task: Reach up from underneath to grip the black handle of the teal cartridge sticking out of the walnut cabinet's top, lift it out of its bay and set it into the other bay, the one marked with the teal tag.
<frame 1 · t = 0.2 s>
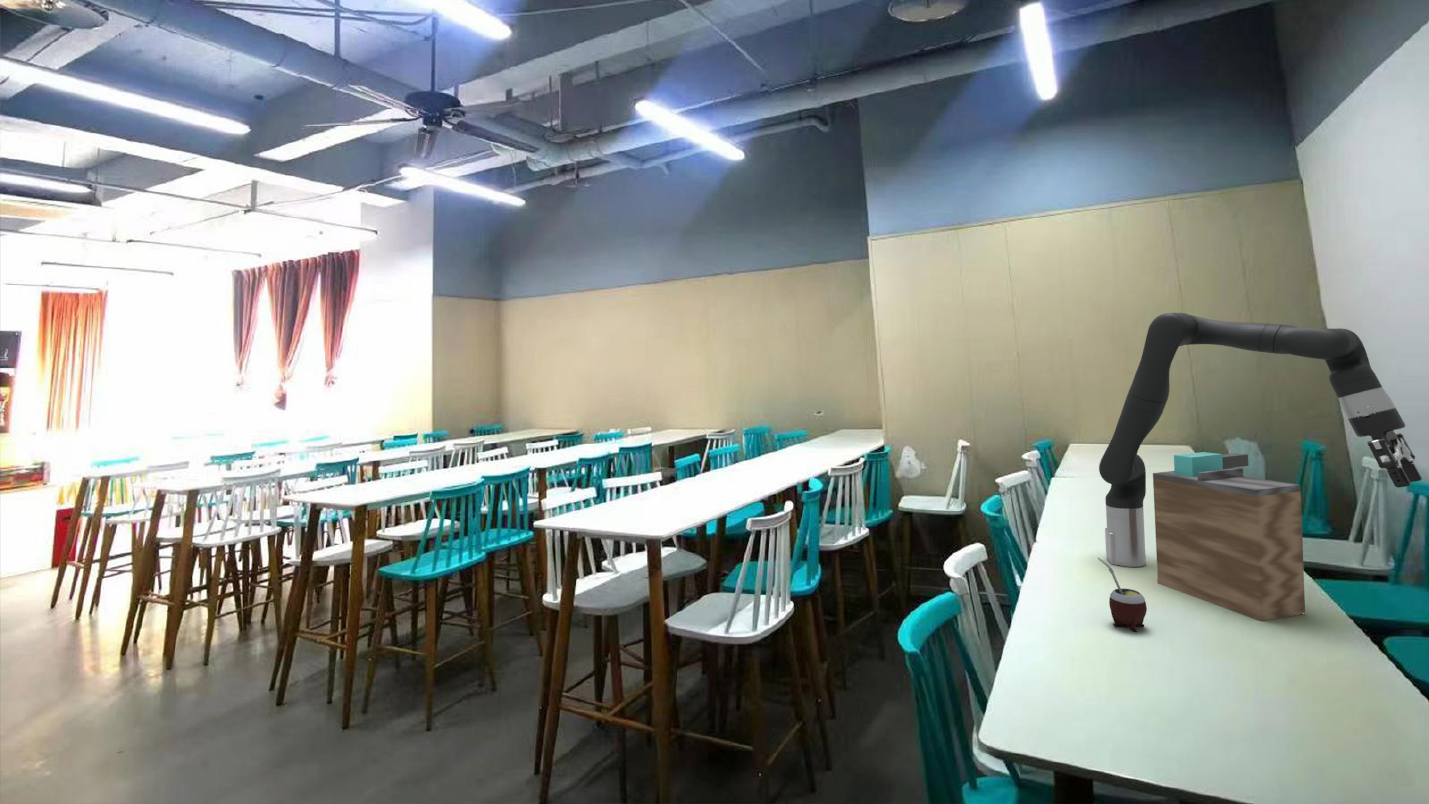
hand: (1409, 483, 125), 31 cm above the table, tool tilted 20°, fingers open, 8 cm apart
cartridge: (1213, 472, 153), point 30 cm above the table, touching cabinet
mate gourd: (1126, 626, 135), on the table
cabinet: (1225, 597, 146), on the table
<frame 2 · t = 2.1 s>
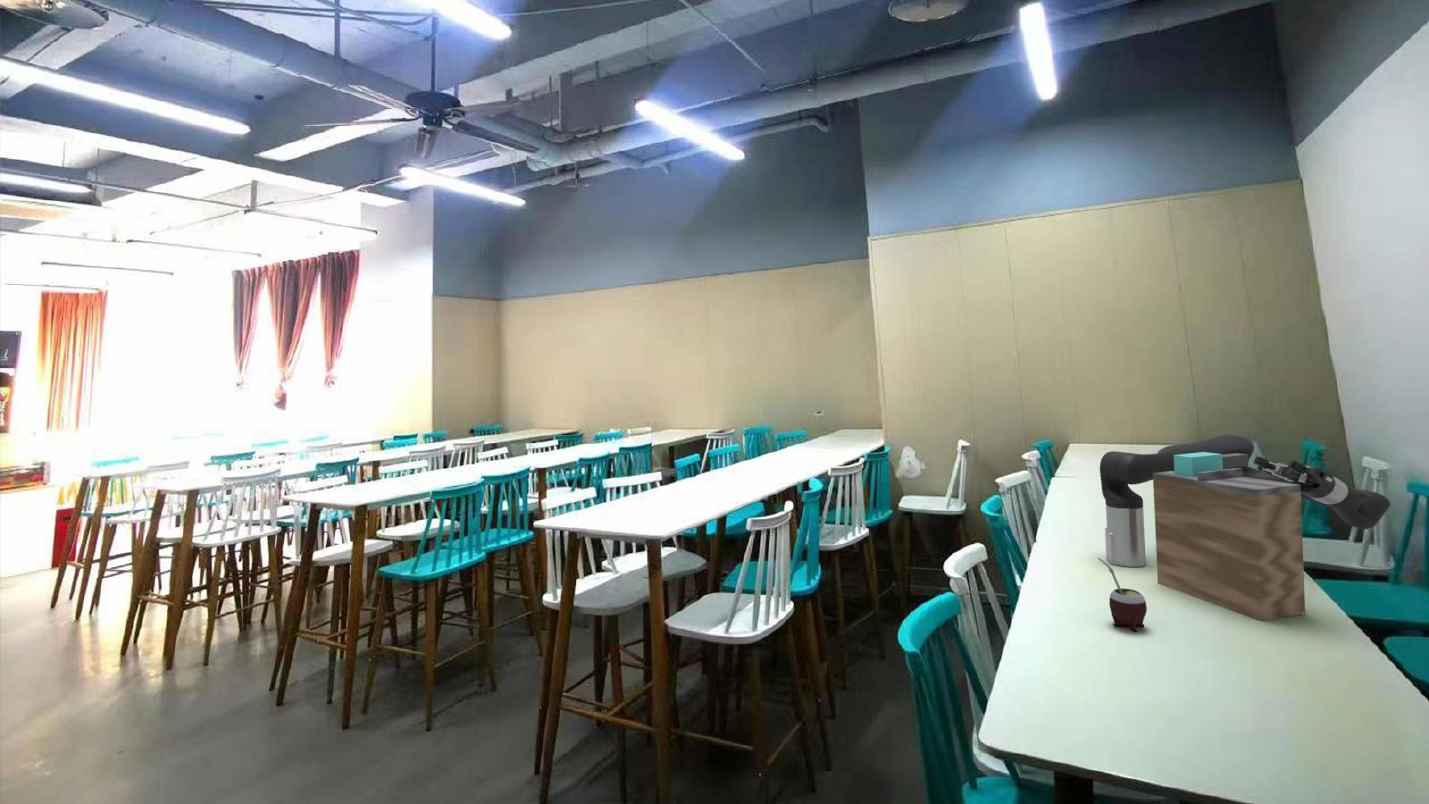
hand: (1272, 461, 155), 31 cm above the table, tool pointing upward, fingers open, 8 cm apart
nothing on the table moved.
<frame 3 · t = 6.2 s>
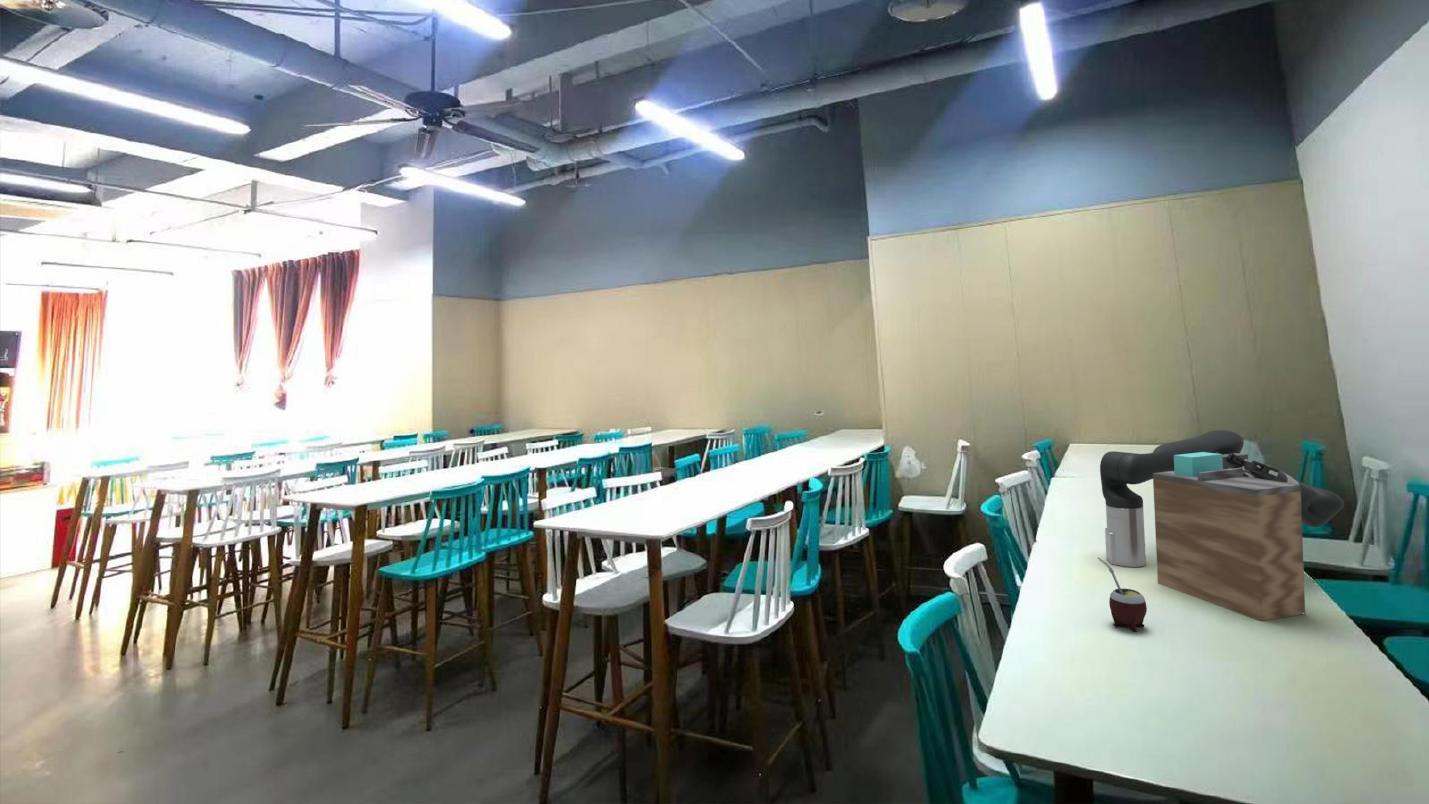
hand: (1222, 456, 153), 34 cm above the table, tool pointing upward, fingers closed on cartridge, 3 cm apart
cartridge: (1213, 472, 153), point 30 cm above the table, touching cabinet, gripper
everything else where it was.
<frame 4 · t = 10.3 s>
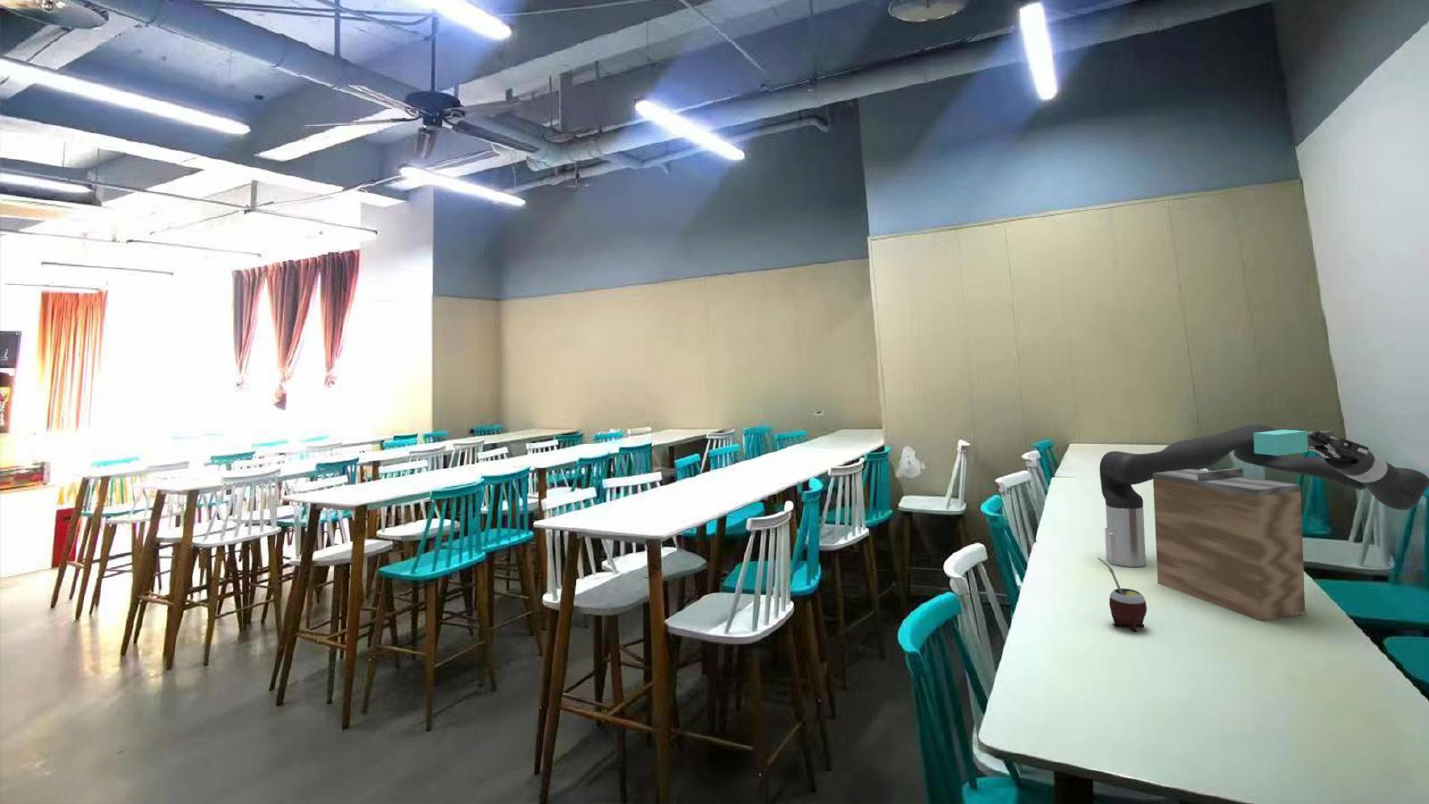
hand: (1305, 433, 143), 40 cm above the table, tool pointing upward, fingers closed on cartridge, 3 cm apart
cartridge: (1296, 450, 143), point 36 cm above the table, touching gripper
everything else where it was.
when the fingers open (35 cm above the table, at t = 14.6 s): cartridge stays where it is, resting on cabinet.
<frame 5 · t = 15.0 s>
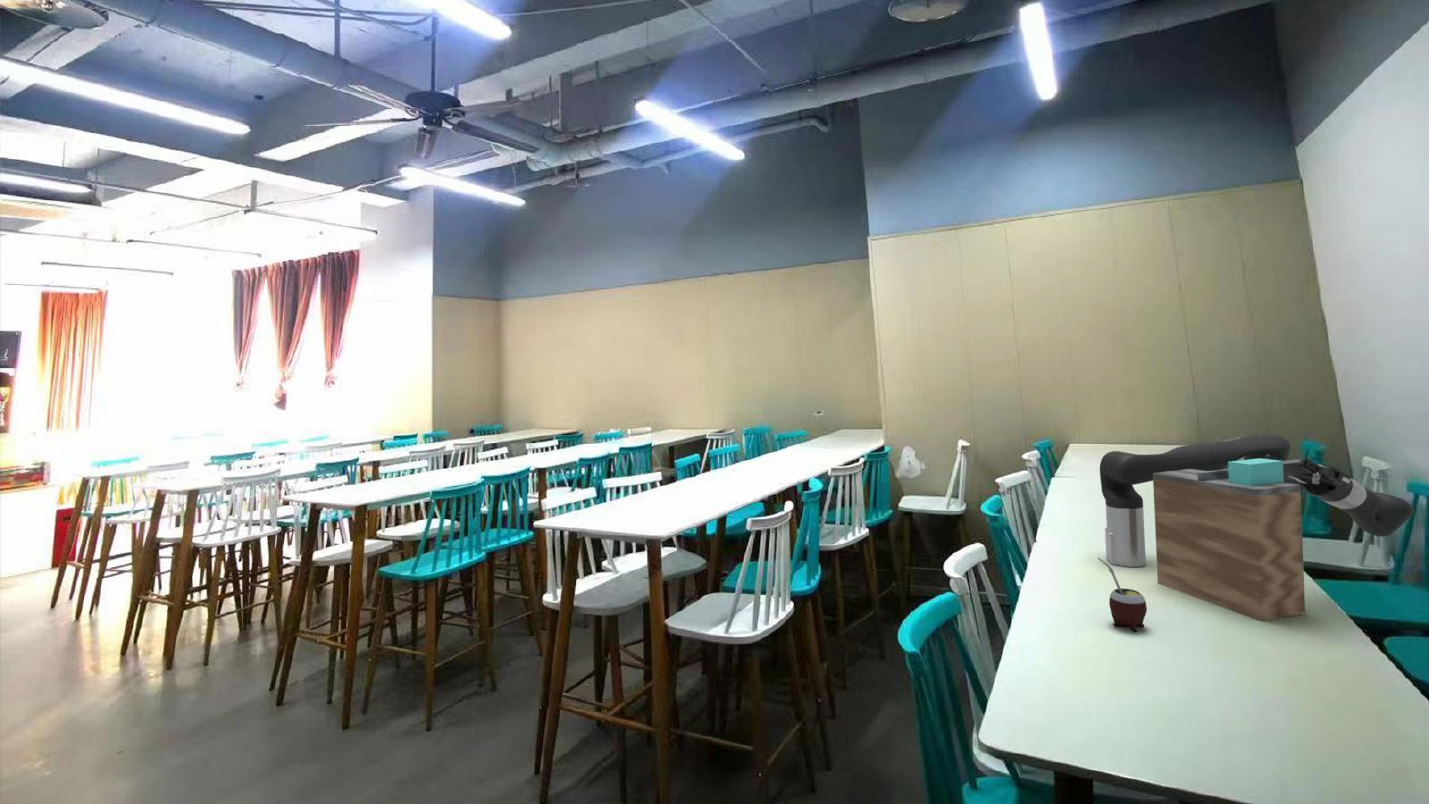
hand: (1283, 460, 140), 35 cm above the table, tool pointing upward, fingers open, 7 cm apart
cartridge: (1271, 480, 139), point 30 cm above the table, touching cabinet
everything else where it was.
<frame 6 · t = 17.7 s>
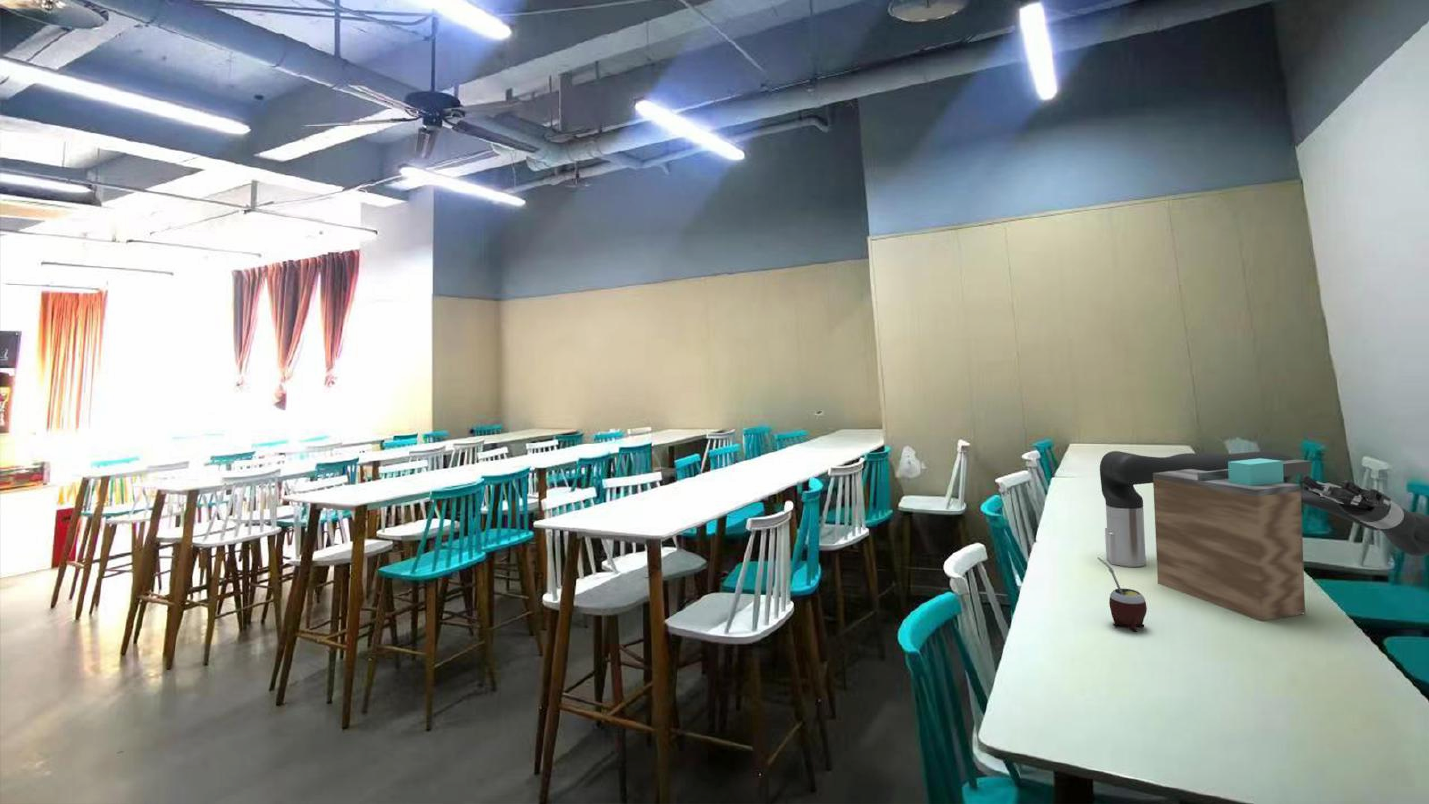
hand: (1323, 481, 142), 28 cm above the table, tool pointing upward, fingers open, 8 cm apart
nothing on the table moved.
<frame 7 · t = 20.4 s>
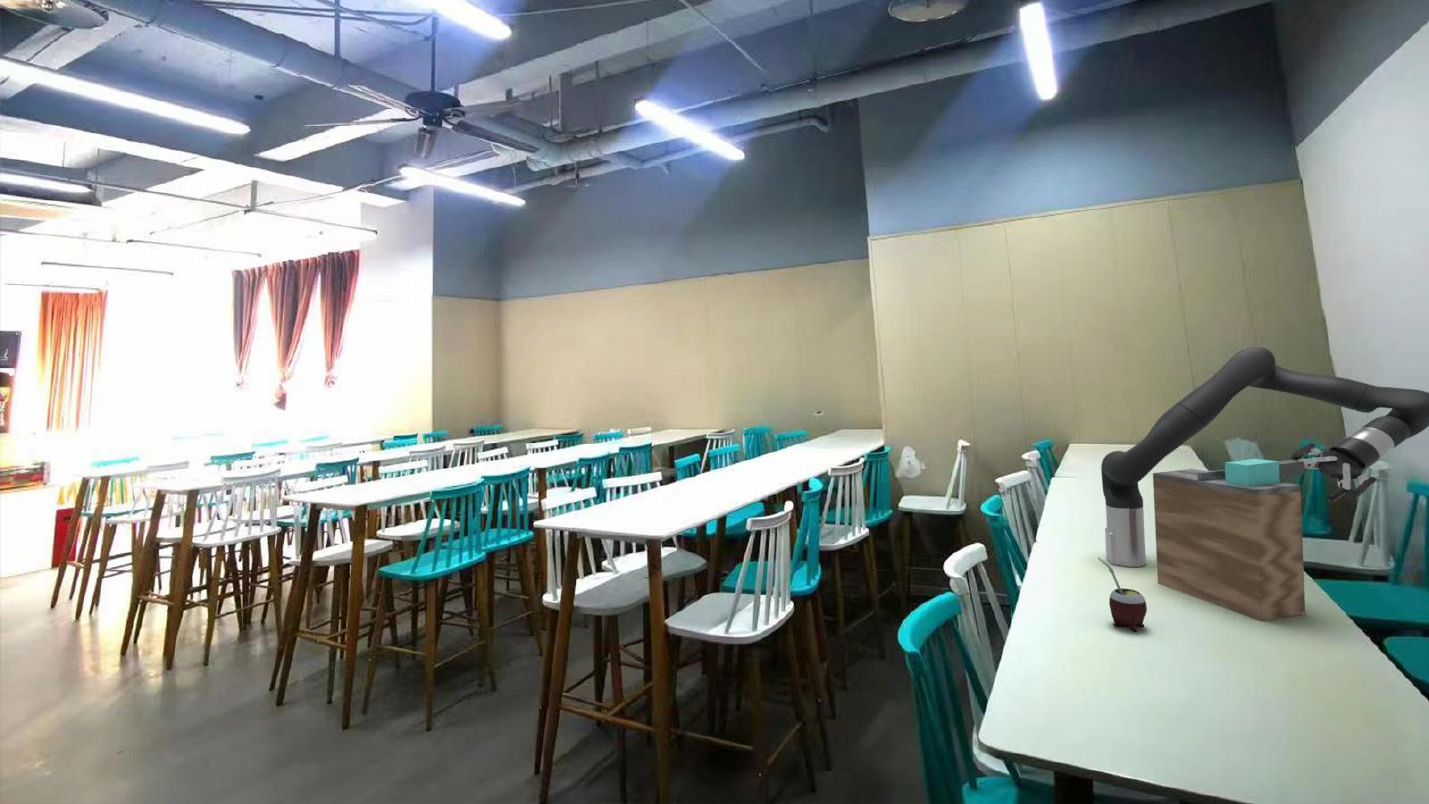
hand: (1307, 486, 141), 28 cm above the table, tool tilted 60°, fingers open, 8 cm apart
cartridge: (1267, 481, 139), point 30 cm above the table, touching cabinet
everything else where it was.
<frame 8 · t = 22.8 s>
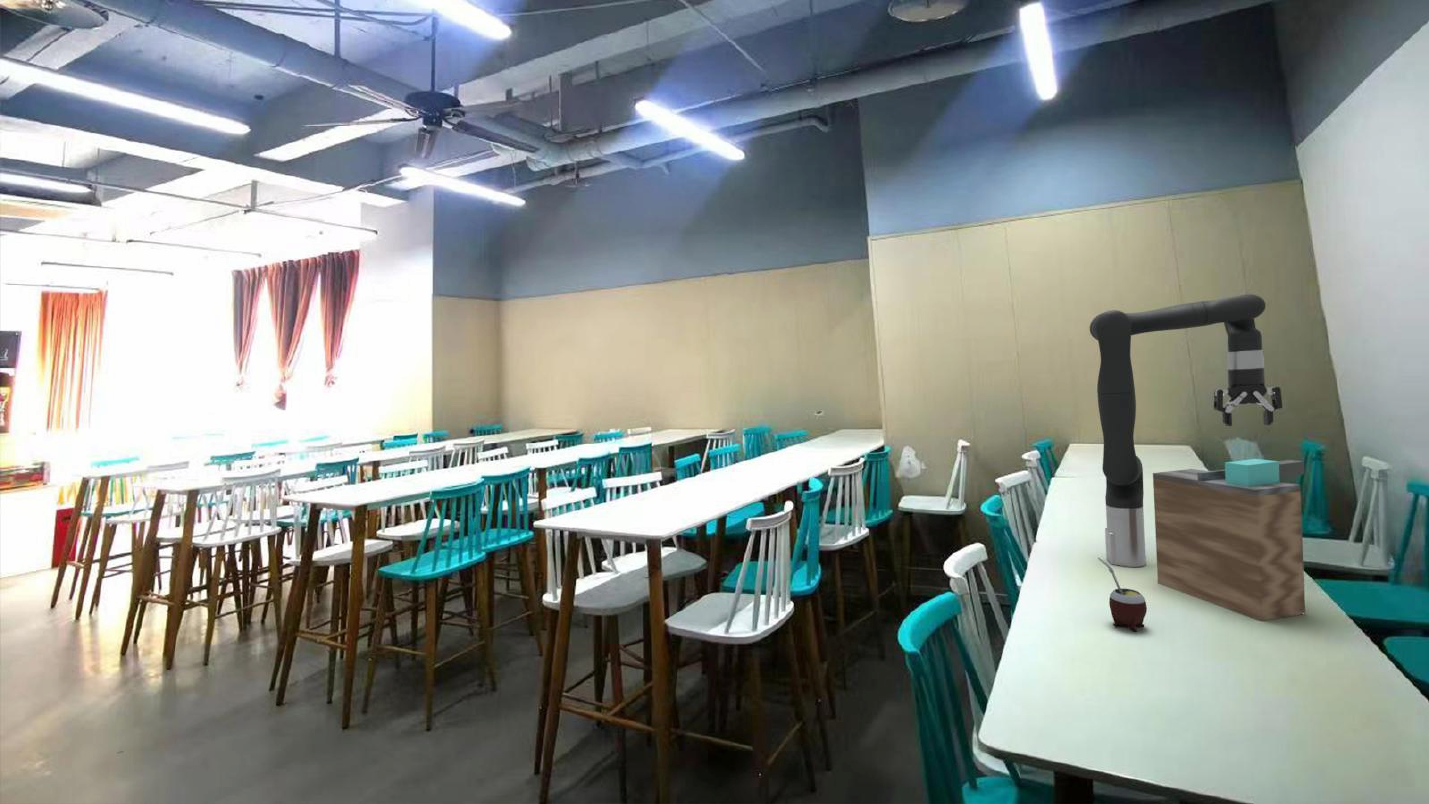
hand: (1247, 425, 163), 40 cm above the table, tool pointing down, fingers open, 8 cm apart
nothing on the table moved.
at the end: cartridge 1.1 cm from the target spot, point 30.0 cm above the table; cartridge tilted 0°; the gripper is holding nothing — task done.
